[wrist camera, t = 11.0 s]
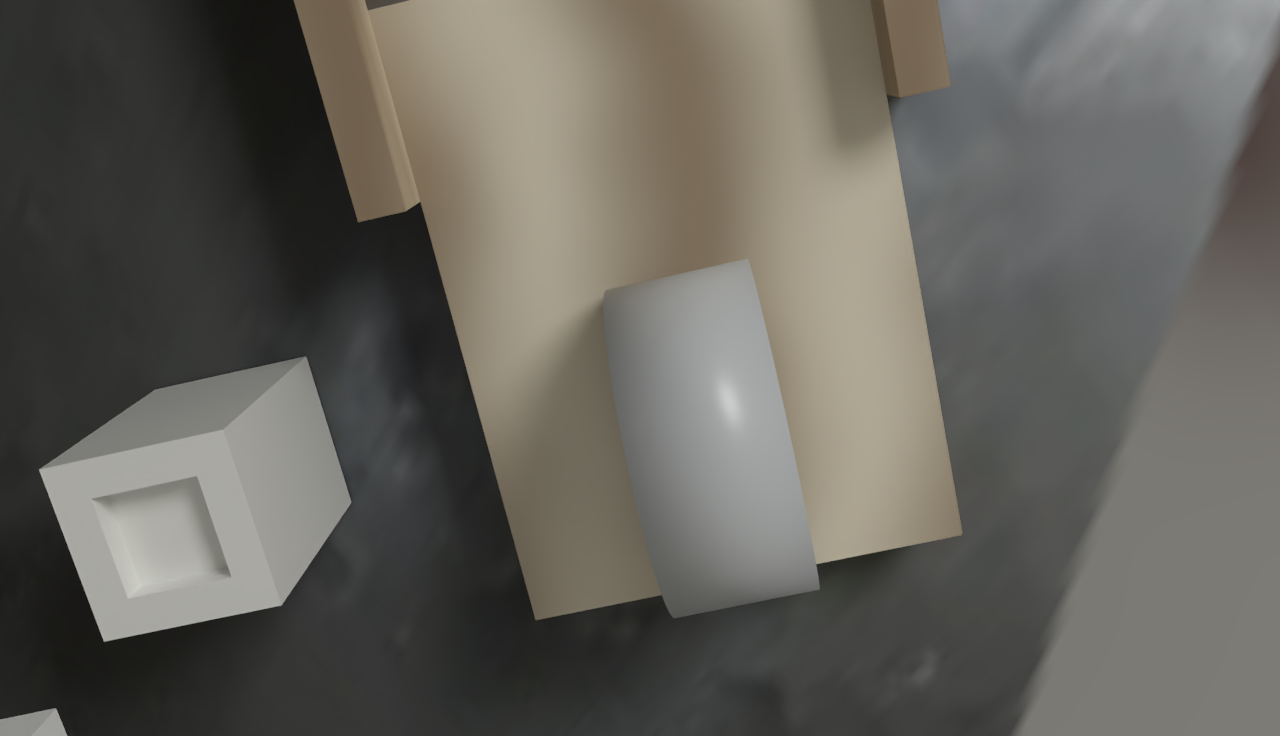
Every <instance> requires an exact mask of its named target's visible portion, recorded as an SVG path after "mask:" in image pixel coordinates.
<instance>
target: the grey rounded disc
mask: <svg viewBox="0 0 1280 736" xmlns="http://www.w3.org/2000/svg"><path fill="white" fill-rule="evenodd" d="M603 315H604V328H605V338H606V347H607V355H608V362H609V369H610V375H611V382H612V388H613V394H614V400H615V405H616V411H617V417H618V422H619V427H620V432H621V437H622V443H623V447H624V452H625V457H626V462H627V467H628V471H629V476H630V480H631V485H632V489H633V494H634V498H635V502H636V506H637V510H638V515H639V519H640V523H641V527H642V530H643V534H644V538H645V542H646V546H647V549H648V553H649V557H650V560H651V563H652V567H653V570H654V573H655V577H656V580H657V583H658V586H659V589H660V592H661V594H662V597H663V600H664V602H665V605H666V607H667V609H668V611H669V613H670V615H671V616H672V617H673V618H679V617H684V616H689V615H694V614H699V613H704V612H709V611H714V610H719V609H724V608H729V607H734V606H739V605H744V604H749V603H755V602H760V601H765V600H770V599H775V598H780V597H785V596H790V595H795V594H800V593H805V592H810V591H815V590H820V586H819V578H818V572H817V566H816V560H815V555H814V550H813V544H812V539H811V534H810V529H809V524H808V519H807V514H806V509H805V504H804V499H803V494H802V489H801V484H800V479H799V474H798V470H797V465H796V460H795V455H794V451H793V446H792V441H791V437H790V432H789V427H788V423H787V418H786V414H785V409H784V405H783V400H782V396H781V391H780V387H779V382H778V378H777V373H776V369H775V364H774V360H773V356H772V351H771V347H770V343H769V338H768V334H767V330H766V326H765V321H764V317H763V313H762V309H761V305H760V301H759V297H758V293H757V289H756V285H755V281H754V277H753V274H752V270H751V267H750V263H749V261H748V259H744V260H739V261H735V262H730V263H726V264H721V265H717V266H712V267H708V268H703V269H699V270H694V271H690V272H685V273H680V274H676V275H671V276H667V277H662V278H658V279H653V280H649V281H644V282H640V283H635V284H631V285H626V286H622V287H617V288H613V289H608V290H605V292H604V298H603Z"/></svg>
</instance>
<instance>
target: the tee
mask: <svg viewBox="0 0 1280 736" xmlns="http://www.w3.org/2000/svg"><path fill="white" fill-rule="evenodd" d="M39 471H40V474H41V476H42V479H43V482H44V484H45V487H46V489H47V492H48V495H49V497H50V500H51V503H52V505H53V508H54V511H55V513H56V516H57V519H58V521H59V524H60V527H61V529H62V532H63V535H64V537H65V540H66V543H67V545H68V548H69V550H70V553H71V556H72V558H73V561H74V564H75V566H76V569H77V572H78V574H79V577H80V580H81V582H82V585H83V588H84V590H85V593H86V596H87V598H88V601H89V603H90V606H91V609H92V611H93V614H94V617H95V619H96V622H97V625H98V627H99V630H100V633H101V635H102V638H103V641H104V642H105V641H110V640H115V639H120V638H125V637H129V636H134V635H139V634H144V633H149V632H154V631H159V630H164V629H169V628H173V627H178V626H183V625H188V624H193V623H198V622H203V621H208V620H213V619H217V618H222V617H227V616H232V615H237V614H242V613H247V612H252V611H257V610H261V609H266V608H271V607H276V606H281V605H282V604H283V603H284V601H285V600H286V598H287V597H288V595H289V594H290V592H291V591H292V589H293V588H294V586H295V585H296V583H297V582H298V581H299V579H300V578H301V576H302V575H303V573H304V572H305V570H306V569H307V567H308V566H309V564H310V563H311V561H312V560H313V558H314V557H315V555H316V554H317V553H318V551H319V550H320V548H321V547H322V545H323V544H324V542H325V541H326V539H327V538H328V536H329V535H330V533H331V532H332V530H333V529H334V528H335V526H336V525H337V523H338V522H339V520H340V519H341V517H342V516H343V514H344V513H345V511H346V510H347V508H348V507H349V505H350V504H351V499H350V496H349V493H348V490H347V486H346V483H345V480H344V477H343V474H342V470H341V467H340V464H339V461H338V457H337V454H336V451H335V448H334V444H333V441H332V438H331V435H330V432H329V428H328V425H327V422H326V419H325V415H324V412H323V409H322V406H321V402H320V399H319V396H318V393H317V390H316V386H315V383H314V380H313V377H312V373H311V370H310V367H309V364H308V360H307V357H306V356H305V357H300V358H296V359H291V360H287V361H282V362H278V363H273V364H269V365H264V366H260V367H255V368H251V369H246V370H242V371H237V372H233V373H228V374H224V375H219V376H215V377H210V378H205V379H201V380H196V381H192V382H187V383H183V384H178V385H174V386H169V387H165V388H160V389H156V390H154V391H153V392H151V393H150V394H148V395H147V396H145V397H144V398H142V399H141V400H139V401H138V402H137V403H135V404H134V405H132V406H131V407H129V408H128V409H126V410H125V411H123V412H122V413H121V414H119V415H118V416H116V417H115V418H113V419H112V420H110V421H109V422H108V423H106V424H105V425H103V426H102V427H100V428H99V429H97V430H96V431H94V432H93V433H92V434H90V435H89V436H87V437H86V438H84V439H83V440H81V441H80V442H78V443H77V444H76V445H74V446H73V447H71V448H70V449H68V450H67V451H65V452H64V453H62V454H61V455H60V456H58V457H57V458H55V459H54V460H52V461H51V462H49V463H48V464H47V465H45V466H44V467H42V468H41V469H39Z"/></svg>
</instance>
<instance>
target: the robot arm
mask: <svg viewBox="0 0 1280 736" xmlns="http://www.w3.org/2000/svg"><path fill="white" fill-rule="evenodd" d="M0 736H67V734H66V732H65V729H64V727H63V724H62V722H61V719H60V717H59V715H58V712H57V710H56V708H54V709H50V710H45V711H40V712H35V713H30V714H25V715H20V716H16V717H11V718H6V719H1V720H0Z"/></svg>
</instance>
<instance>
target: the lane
mask: <svg viewBox="0 0 1280 736" xmlns="http://www.w3.org/2000/svg"><path fill="white" fill-rule="evenodd" d="M294 3H295V6H296V10H297V13H298V17H299V20H300V24H301V27H302V30H303V34H304V37H305V41H306V44H307V48H308V51H309V55H310V58H311V62H312V65H313V68H314V72H315V75H316V79H317V82H318V86H319V89H320V93H321V96H322V99H323V103H324V106H325V110H326V113H327V117H328V120H329V124H330V127H331V131H332V134H333V137H334V141H335V144H336V148H337V151H338V155H339V158H340V162H341V165H342V169H343V172H344V175H345V179H346V182H347V186H348V189H349V193H350V196H351V200H352V203H353V206H354V210H355V213H356V217H357V220H358V222H362V221H366V220H370V219H375V218H379V217H384V216H388V215H392V214H397V213H401V212H405V211H407V210H409V209H410V208H412V207H413V206H415V205H416V204H418V203H419V202H421V206H422V209H423V213H424V217H425V220H426V224H427V227H428V231H429V235H430V238H431V242H432V246H433V249H434V253H435V256H436V260H437V264H438V267H439V271H440V275H441V278H442V282H443V286H444V289H445V293H446V296H447V300H448V304H449V307H450V311H451V315H452V318H453V322H454V325H455V329H456V333H457V336H458V340H459V344H460V347H461V351H462V355H463V358H464V362H465V365H466V369H467V373H468V376H469V380H470V384H471V387H472V391H473V395H474V398H475V402H476V405H477V409H478V413H479V416H480V420H481V424H482V427H483V431H484V434H485V438H486V442H487V445H488V449H489V453H490V456H491V460H492V464H493V467H494V471H495V474H496V478H497V482H498V485H499V489H500V493H501V496H502V500H503V503H504V507H505V511H506V514H507V518H508V522H509V525H510V529H511V533H512V536H513V540H514V543H515V547H516V551H517V554H518V558H519V562H520V565H521V569H522V572H523V576H524V580H525V583H526V587H527V591H528V594H529V598H530V602H531V605H532V609H533V612H534V616H535V620H540V619H545V618H550V617H555V616H560V615H565V614H570V613H575V612H580V611H585V610H590V609H595V608H600V607H605V606H610V605H615V604H620V603H625V602H630V601H635V600H640V599H645V598H650V597H655V596H660V595H662V594H661V592H660V589H659V586H658V583H657V580H656V577H655V573H654V570H653V567H652V563H651V560H650V557H649V553H648V549H647V546H646V542H645V538H644V534H643V530H642V527H641V523H640V519H639V515H638V510H637V506H636V502H635V498H634V494H633V489H632V485H631V480H630V476H629V471H628V467H627V462H626V457H625V452H624V447H623V443H622V437H621V432H620V427H619V422H618V417H617V411H616V405H615V400H614V394H613V388H612V382H611V375H610V369H609V362H608V355H607V347H606V338H605V328H604V315H603V298H604V292H605V290H608V289H613V288H617V287H622V286H626V285H631V284H635V283H640V282H644V281H649V280H653V279H658V278H662V277H667V276H671V275H676V274H680V273H685V272H690V271H694V270H699V269H703V268H708V267H712V266H717V265H721V264H726V263H730V262H735V261H739V260H744V259H748V261H749V263H750V267H751V270H752V274H753V277H754V281H755V285H756V289H757V293H758V297H759V301H760V305H761V309H762V313H763V317H764V321H765V326H766V330H767V334H768V338H769V343H770V347H771V351H772V356H773V360H774V364H775V369H776V373H777V378H778V382H779V387H780V391H781V396H782V400H783V405H784V409H785V414H786V418H787V423H788V427H789V432H790V437H791V441H792V446H793V451H794V455H795V460H796V465H797V470H798V474H799V479H800V484H801V489H802V494H803V499H804V504H805V509H806V514H807V519H808V524H809V529H810V534H811V539H812V544H813V550H814V555H815V560H816V564H820V563H825V562H830V561H835V560H840V559H845V558H850V557H855V556H860V555H865V554H870V553H875V552H880V551H885V550H890V549H895V548H900V547H905V546H910V545H915V544H920V543H925V542H930V541H935V540H940V539H945V538H950V537H955V536H960V535H963V534H962V528H961V522H960V517H959V511H958V505H957V499H956V494H955V488H954V482H953V476H952V470H951V465H950V459H949V453H948V447H947V441H946V436H945V430H944V424H943V418H942V413H941V407H940V401H939V395H938V389H937V384H936V378H935V372H934V366H933V361H932V355H931V349H930V343H929V337H928V332H927V326H926V320H925V314H924V308H923V303H922V297H921V291H920V285H919V280H918V274H917V268H916V262H915V256H914V251H913V245H912V239H911V233H910V228H909V222H908V216H907V210H906V204H905V199H904V193H903V187H902V181H901V175H900V170H899V164H898V158H897V152H896V147H895V141H894V135H893V129H892V123H891V118H890V112H889V106H888V100H887V95H891V96H894V97H898V98H902V97H906V96H910V95H915V94H919V93H924V92H928V91H932V90H937V89H941V88H945V87H950V86H951V82H950V76H949V70H948V63H947V57H946V51H945V45H944V38H943V32H942V26H941V20H940V13H939V7H938V1H937V0H294ZM886 94H887V95H886Z"/></svg>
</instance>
